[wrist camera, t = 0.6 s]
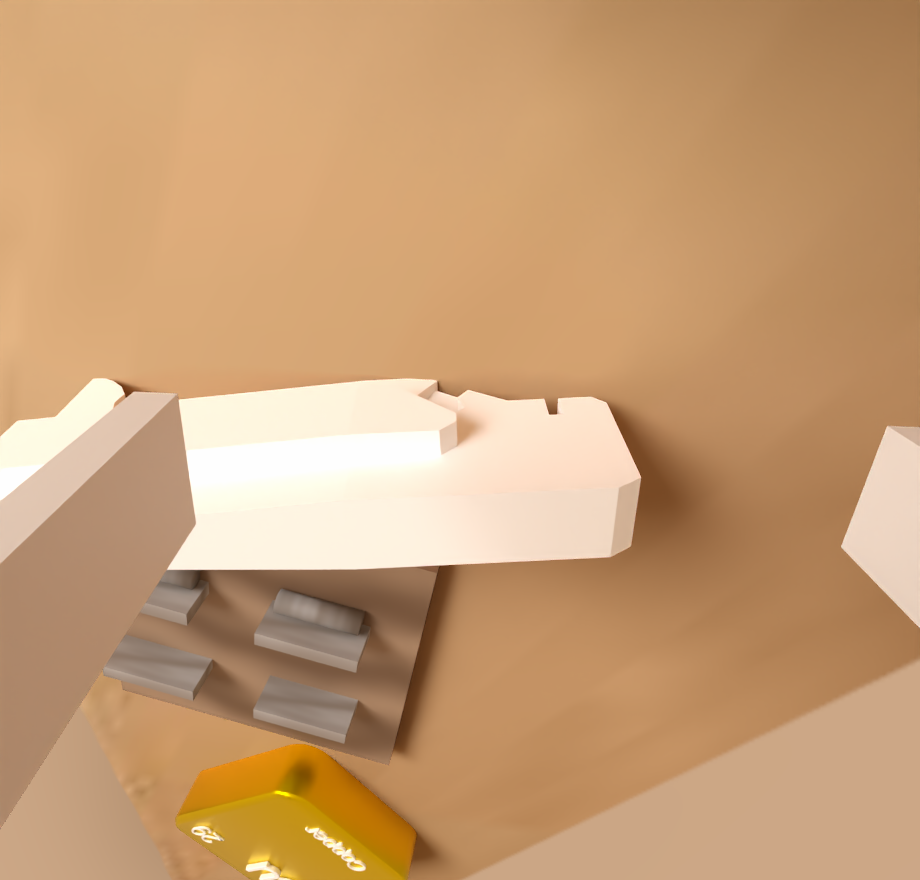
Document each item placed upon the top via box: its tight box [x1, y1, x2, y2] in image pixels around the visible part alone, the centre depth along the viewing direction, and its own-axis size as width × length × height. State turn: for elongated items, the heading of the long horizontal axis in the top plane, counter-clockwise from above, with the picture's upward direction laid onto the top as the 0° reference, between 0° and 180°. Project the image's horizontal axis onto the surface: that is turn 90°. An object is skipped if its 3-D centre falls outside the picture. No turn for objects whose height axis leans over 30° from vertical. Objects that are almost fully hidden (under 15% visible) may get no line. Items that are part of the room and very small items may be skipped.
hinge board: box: [103, 565, 440, 765], centre depth 39 cm, size 20×20×4 cm
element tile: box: [175, 744, 417, 880], centre depth 52 cm, size 15×15×5 cm
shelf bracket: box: [0, 378, 641, 570], centre depth 28 cm, size 6×25×13 cm, turn 92°
